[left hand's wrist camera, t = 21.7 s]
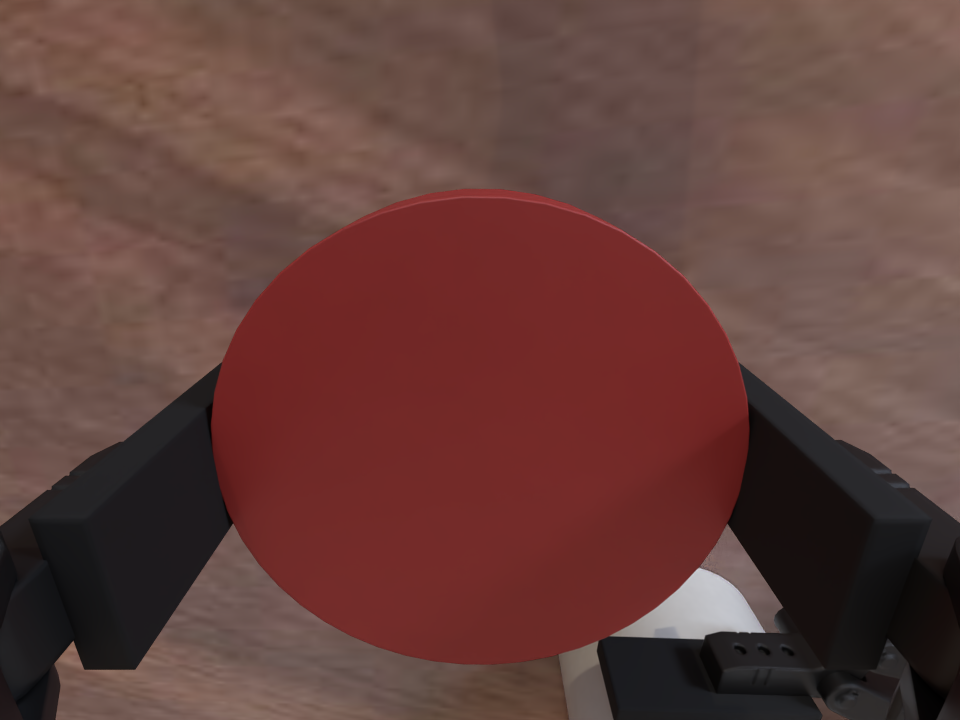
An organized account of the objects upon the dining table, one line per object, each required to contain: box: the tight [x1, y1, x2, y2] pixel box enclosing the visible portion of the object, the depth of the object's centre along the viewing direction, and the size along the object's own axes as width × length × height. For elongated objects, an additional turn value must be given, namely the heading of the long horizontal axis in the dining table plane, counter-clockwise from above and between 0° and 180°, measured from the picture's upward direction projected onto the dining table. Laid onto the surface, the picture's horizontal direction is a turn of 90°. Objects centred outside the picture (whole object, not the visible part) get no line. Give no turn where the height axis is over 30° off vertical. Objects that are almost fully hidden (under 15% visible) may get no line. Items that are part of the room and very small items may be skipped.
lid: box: [211, 189, 750, 665], centre depth 11 cm, size 10×10×2 cm
